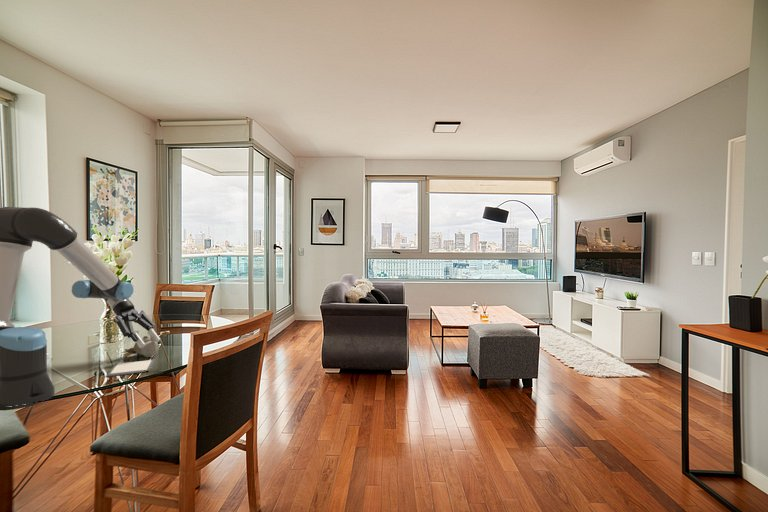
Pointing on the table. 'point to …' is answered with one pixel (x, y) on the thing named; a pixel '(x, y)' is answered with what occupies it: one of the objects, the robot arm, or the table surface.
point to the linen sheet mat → (130, 368)
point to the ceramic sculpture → (145, 348)
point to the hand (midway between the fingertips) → (150, 343)
